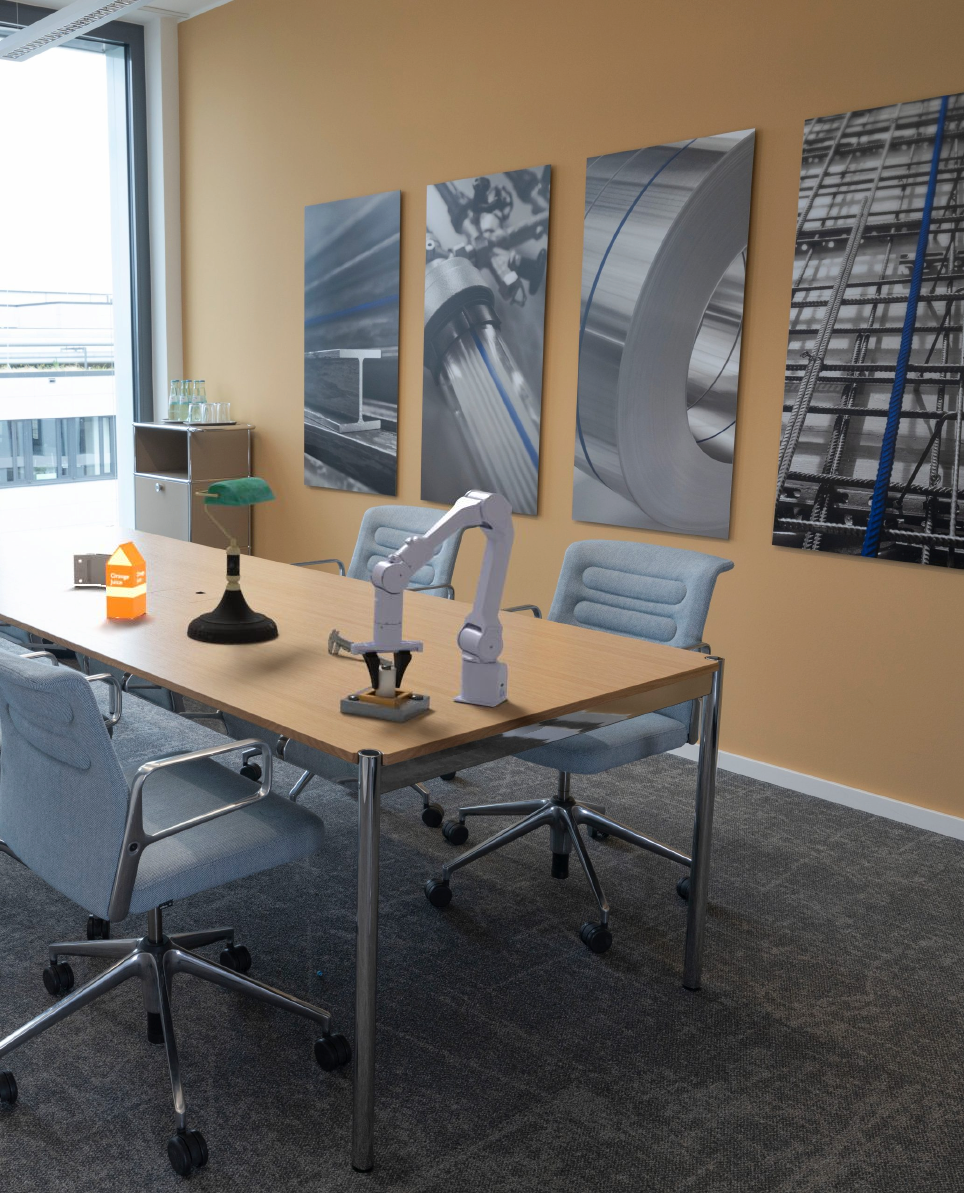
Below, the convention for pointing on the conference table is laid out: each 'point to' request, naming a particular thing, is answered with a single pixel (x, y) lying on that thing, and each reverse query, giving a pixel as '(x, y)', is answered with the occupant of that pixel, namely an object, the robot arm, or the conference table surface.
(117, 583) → the orange juice
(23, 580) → the conference table surface
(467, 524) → the robot arm
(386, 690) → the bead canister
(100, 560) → the hinge
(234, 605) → the banker's lamp
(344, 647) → the caliper
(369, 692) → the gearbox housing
